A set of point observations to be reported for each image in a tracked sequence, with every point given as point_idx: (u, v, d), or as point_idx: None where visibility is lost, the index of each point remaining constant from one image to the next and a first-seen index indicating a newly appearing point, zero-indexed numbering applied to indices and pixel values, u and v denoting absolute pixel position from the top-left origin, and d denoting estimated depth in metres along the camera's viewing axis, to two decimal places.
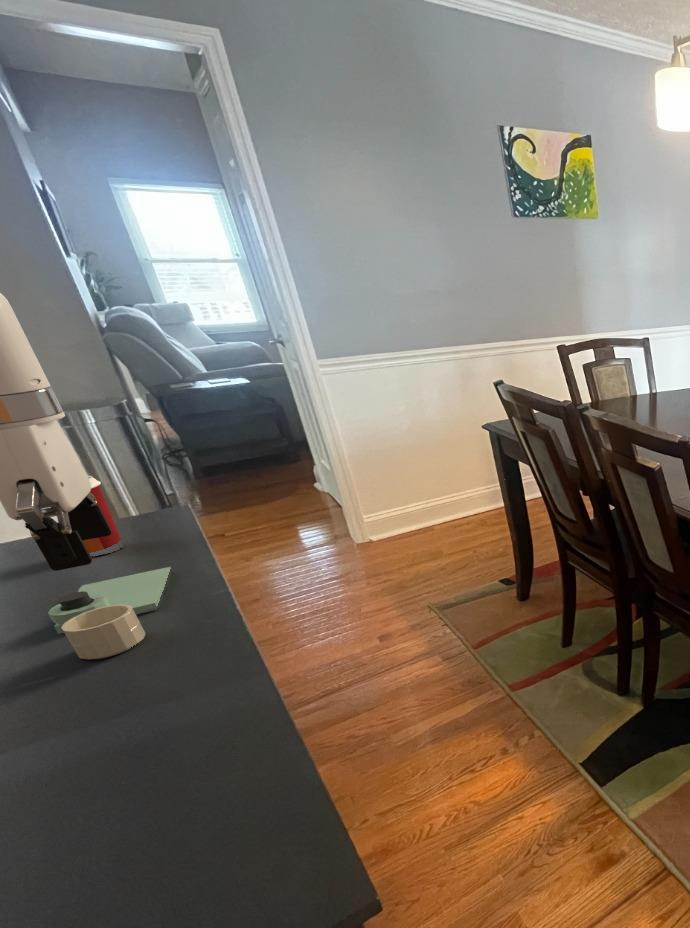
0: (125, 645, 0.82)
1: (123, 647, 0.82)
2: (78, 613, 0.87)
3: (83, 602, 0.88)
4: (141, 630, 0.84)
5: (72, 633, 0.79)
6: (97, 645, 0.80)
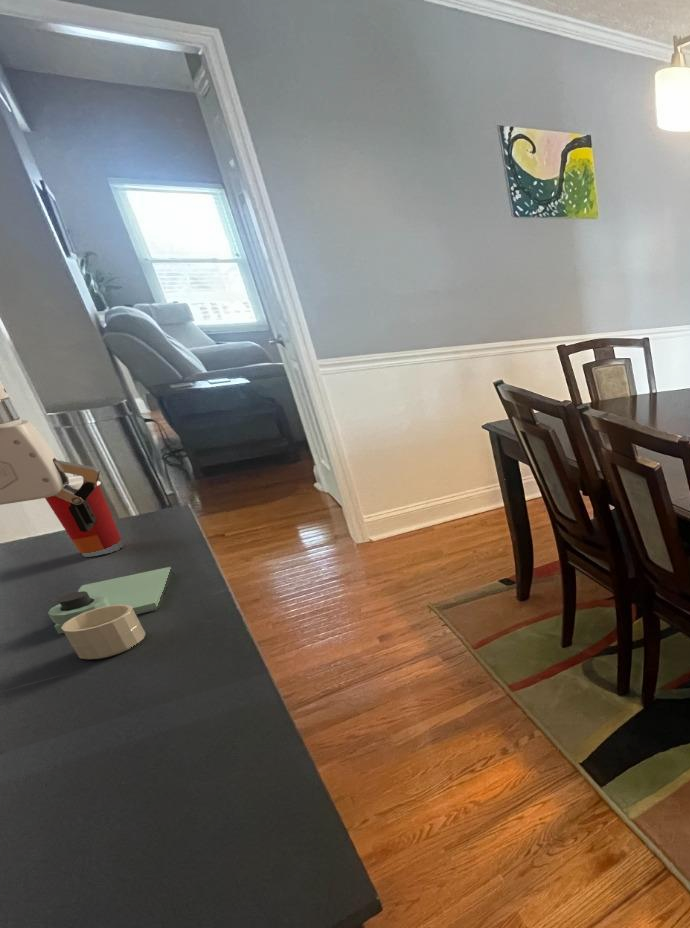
0: (125, 645, 0.82)
1: (123, 647, 0.82)
2: (78, 613, 0.87)
3: (83, 602, 0.88)
4: (141, 630, 0.84)
5: (72, 633, 0.79)
6: (97, 645, 0.80)
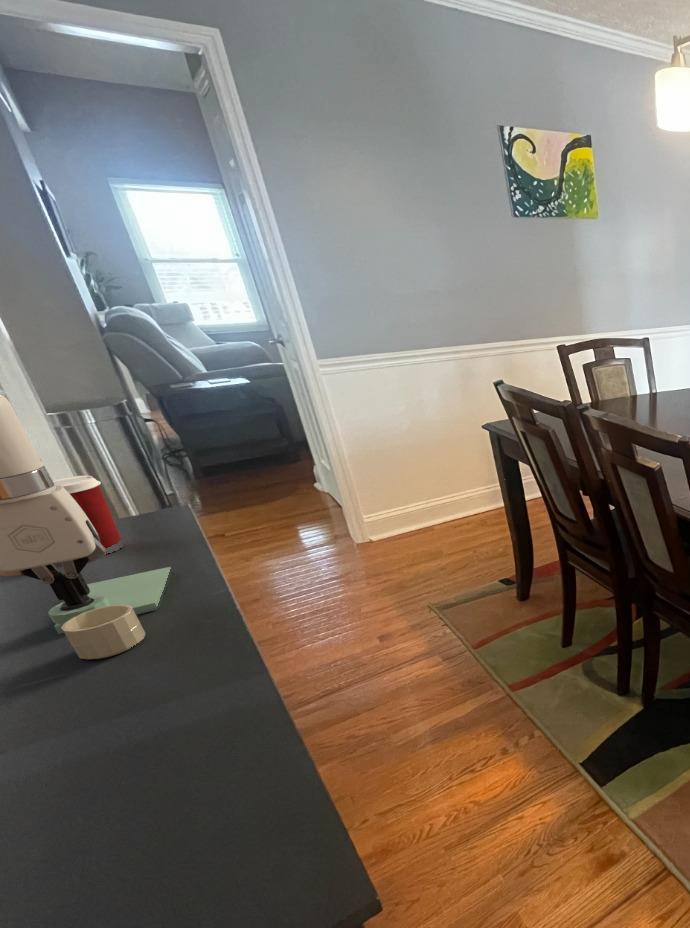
0: (125, 645, 0.82)
1: (123, 647, 0.82)
2: (78, 613, 0.87)
3: None
4: (141, 630, 0.84)
5: (72, 633, 0.79)
6: (97, 645, 0.80)
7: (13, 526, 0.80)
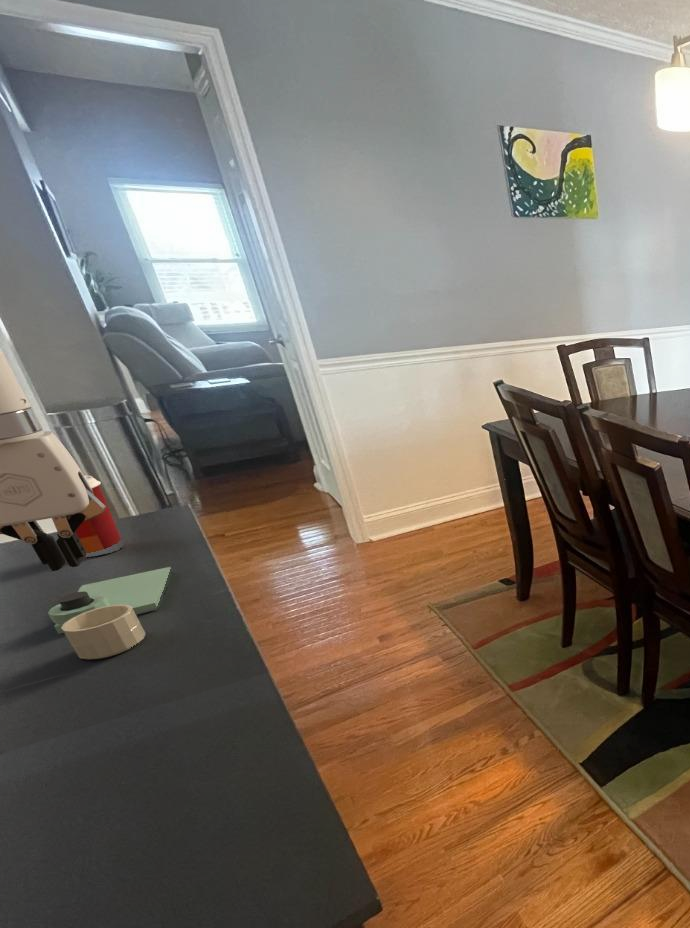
0: (125, 645, 0.82)
1: (123, 647, 0.82)
2: (78, 613, 0.87)
3: (83, 602, 0.88)
4: (141, 630, 0.84)
5: (72, 633, 0.79)
6: (97, 645, 0.80)
7: None
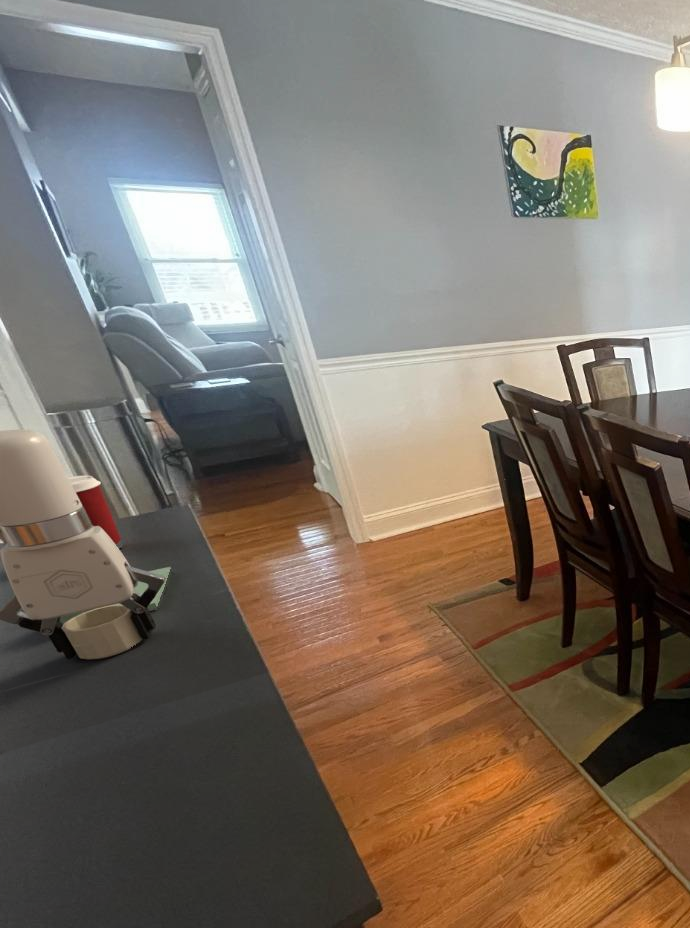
0: (125, 645, 0.82)
1: (123, 647, 0.82)
2: (78, 613, 0.87)
3: None
4: None
5: (72, 633, 0.79)
6: (97, 645, 0.80)
7: (50, 572, 0.75)
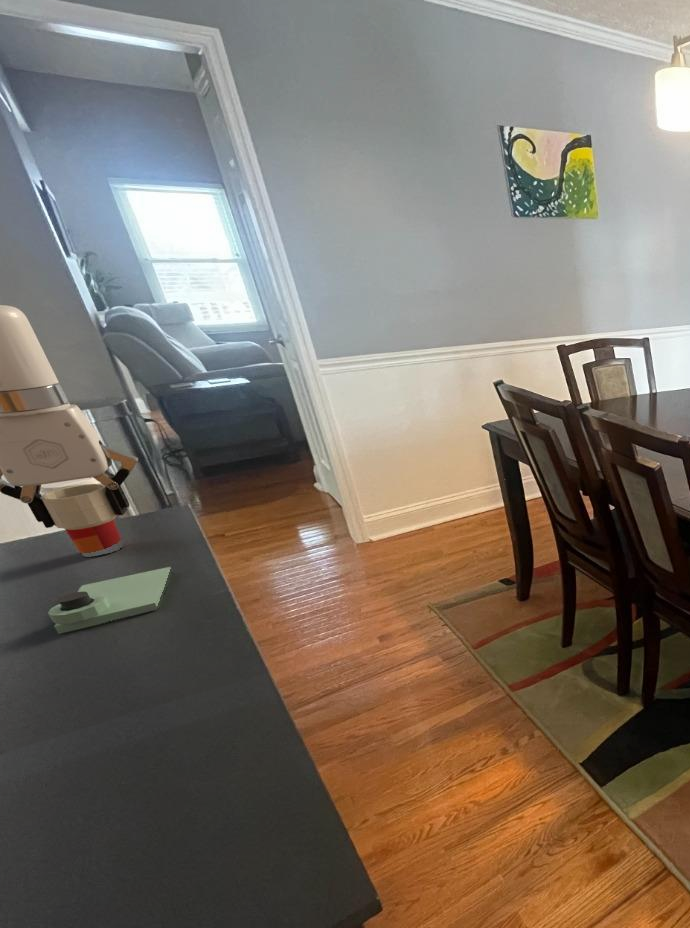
0: (100, 518, 0.88)
1: (98, 520, 0.88)
2: (78, 613, 0.87)
3: (83, 602, 0.88)
4: None
5: (50, 502, 0.85)
6: (73, 515, 0.86)
7: (28, 440, 0.82)
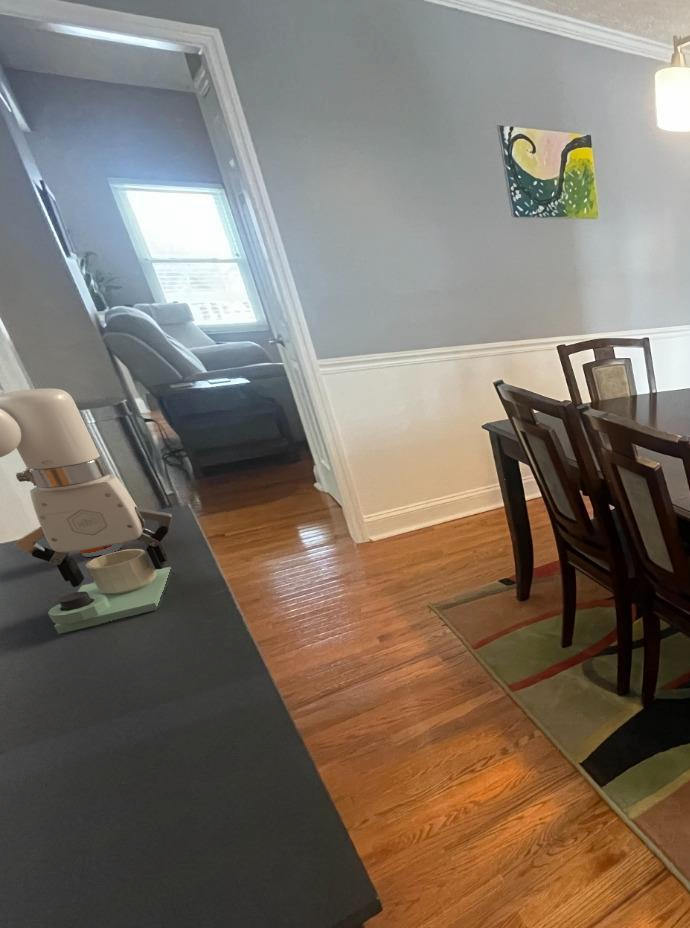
0: (139, 582, 0.96)
1: (137, 584, 0.95)
2: (78, 613, 0.87)
3: (83, 602, 0.88)
4: (152, 571, 0.98)
5: (95, 570, 0.92)
6: (116, 581, 0.93)
7: (72, 510, 0.88)
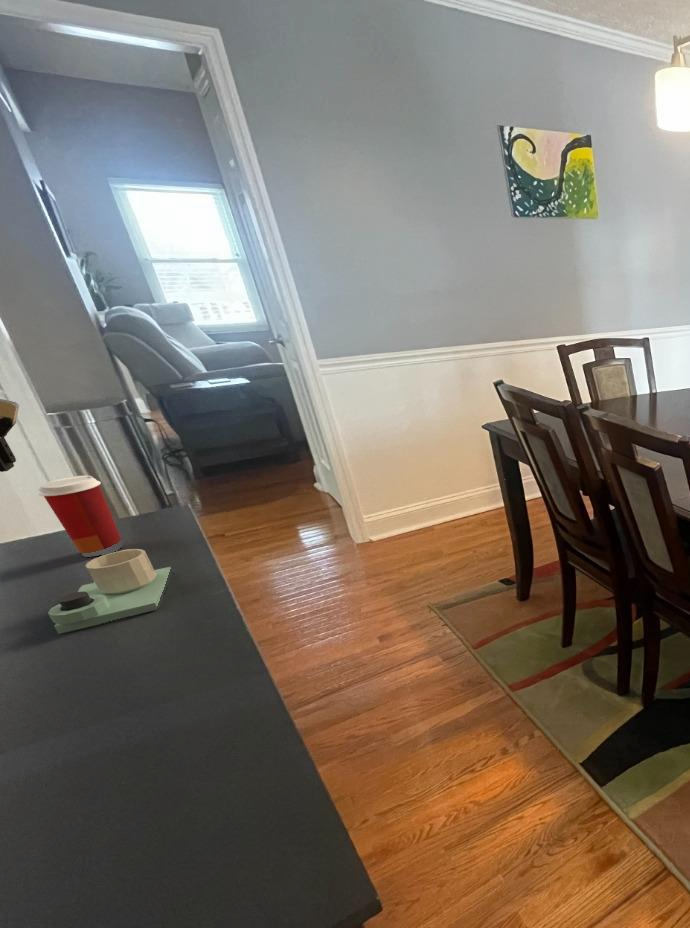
0: (139, 582, 0.96)
1: (137, 584, 0.95)
2: (78, 613, 0.87)
3: (83, 602, 0.88)
4: (152, 571, 0.98)
5: (95, 570, 0.92)
6: (116, 581, 0.93)
7: None
